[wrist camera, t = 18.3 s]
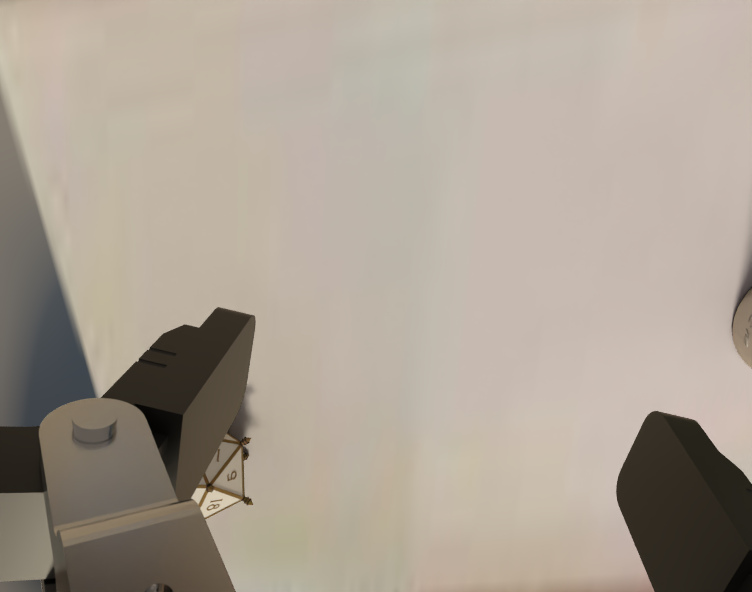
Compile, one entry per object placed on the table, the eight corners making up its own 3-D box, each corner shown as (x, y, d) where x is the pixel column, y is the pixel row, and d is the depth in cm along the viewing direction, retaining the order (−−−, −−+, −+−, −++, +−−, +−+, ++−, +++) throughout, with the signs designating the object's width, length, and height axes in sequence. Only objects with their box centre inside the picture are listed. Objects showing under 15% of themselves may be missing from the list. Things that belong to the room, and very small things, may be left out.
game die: (241, 432, 54) (224, 550, 49) (146, 414, 50) (116, 539, 45) (278, 404, 47) (263, 538, 42) (171, 381, 44) (140, 524, 38)
